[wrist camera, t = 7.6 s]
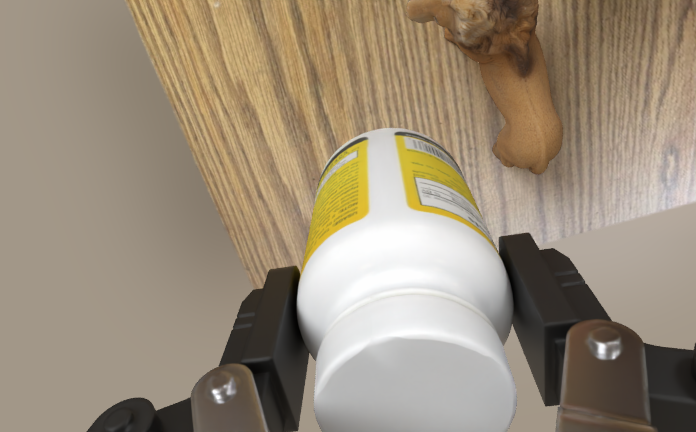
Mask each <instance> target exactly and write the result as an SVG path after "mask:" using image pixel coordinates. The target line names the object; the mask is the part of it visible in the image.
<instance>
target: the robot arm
mask: <svg viewBox="0 0 696 432" xmlns="http://www.w3.org/2000/svg"><path fill="white" fill-rule="evenodd" d="M499 255H500V257H501V259H502V261H503V263H504V266H505V269H506V271H507V274H508V277H509V280H510V284H511V289H512V293H513V301H514V313H513V321H512V324H513V327H514V329H515V332H516V334H517V337H518V339H519V342H520V344H521V347H522V349H523V352H524V354H525V356H526V359H527V362H528V364H529V367H530V369H531V372H532V374H533V377H534V379H535V382H536V384H537V387H538V389H539V392H540V394H541V397H542V399H543V402H544V404H545V406H554V405H560V407H558V411H557V420H556V431H555V432H696V343H695V347H694V350H686V349H677V348H668V347H660V346H654V345H650V344H646V343H643V341H642V339H641V338H640V337H639V335H637V334H636V333H635V332H634V331H633V330H631V329H630V328H628V327H626V326H624V325H622V324H619V323H617V322H613V321H612V320H611V319H610V317H609V316H608V315H607V313H606V311H605V310H604V308H603V307H602V306H601V304H600V303H599V301H598V300H597V298H596V297H595V295H594V294H593V292H592V291H591V289H590V288H589V287H588V285H587V284H585V281H584V279H583V278H582V276H581V275H580V274H579V273H578V270H577V269H576V267H575V266H574V264H573V263H572V262H571V260H570V259H569V258H568V257H567V256H565V255H563V254H562V253H560V252H559V251H557V250H555V249H553V248H551V249H544V250H539V248H538V246H537V245H536V243H535V241H534V240H533V238H532V236H531V235H530V233H522V234H515V235H508V236H501V237H499ZM300 276H301V275H300V272H299V269H298V267H297V266H291V267H284V268H277V269H270V270H269V272H268V275H267V278H266V281H265V284H264V288H262V289H255V290H253V291H252V292H251V293H250V294H249V295H248V296H247V298H246V299H245V300H244V301H243V302H242V304H241V306H240V309H239V312H238V315H237V319H236V320H235V323H234V326H233V330H232V331H231V334H230V337H229V340H228V342H227V345H226V348H225V351H224V353H223V356H222V359H221V361H220V364H219V367H217V368H215V369H213V370H211V371H210V372H208V373H207V374H205V375H204V376H203V377H202V378H201V379H200V380H199V381H198V382H197V383H196V385H195V386H194V388H193V390H192V393H191V397H190V398H188V399H186V400H183V401H181V402H178V403H175V404H173V405H170V406H167V407H165V408H162V409H160V410H157V411H156V410H155V408H154V406H153V404H152V403H151V402H150V401H149V400H147V399H144V398H131V399H127V400H124V401H122V402H119V403H117V404H115V405H114V406H112V407H111V408H109V409H107V410H106V411H105V412H104V413H103V414H101V415H100V416H99V417H98V418H97V420H96V421H95V422H94V423H93V425H92V426H91V427H90V428H89V429H88V431H87V432H293V431H298V427H299V421H300V413H301V407H302V400H303V393H304V386H305V379H306V372H307V365H308V358H309V351H308V349H307V347H306V345H305V343H304V340H303V338H302V335H301V332H300V329H299V326H298V320H297V295H298V286H299V280H300Z"/></svg>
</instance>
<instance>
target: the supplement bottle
mask: <svg viewBox="0 0 696 432" xmlns="http://www.w3.org/2000/svg"><path fill="white" fill-rule="evenodd" d="M513 313H514V301H513V293H512V289H511V284H510V280H509V277H508V274H507V271H506V269H505V266H504V263H503V261H502V259H501V257H500V255H499V253H498V251H497V248H496V246H495V244H494V242H493V240H492V238H491V236H490V233H489V231H488V229H487V227H486V225H485V222H484V220H483V218H482V216H481V214H480V211H479V209H478V207H477V205H476V203H475V200H474V198H473V196H472V194H471V192H470V190H469V187H468V185H467V183H466V181H465V179H464V177H463V175H462V172H461V170H460V168H459V166H458V165H457V163H456V162H455V160H454V159H453V157H452V156H451V155H450V153H449V152H448V151H447V150H446V149H445V148H444V147H443V146H441V145H440V144H439V143H438V142H436V141H435V140H433V139H432V138H430V137H428V136H426V135H424V134H421V133H419V132H416V131H413V130H408V129H402V128H382V129H377V130H373V131H369V132H366V133H363V134H361V135H358V136H356V137H355V138H353V139H351V140H349V141H348V142H346V143H345V144H344V145H343V146H341V147H340V148H339V149H338V150H337V151H336V152H335V153H334V154H333V155H332V157H331V158H330V159H329V161H328V162H327V164H326V166H325V168H324V170H323V172H322V174H321V177H320V180H319V183H318V187H317V192H316V197H315V203H314V209H313V214H312V220H311V225H310V231H309V236H308V241H307V246H306V251H305V256H304V261H303V266H302V271H301V276H300V280H299V286H298V295H297V320H298V326H299V329H300V332H301V335H302V338H303V340H304V343H305V345H306V347H307V349H308V351H309V352H310V354H311V355H312V357H313V359H314V360H315V361H316V376H315V391H314V411H315V415H316V419H317V422H318V424H319V427H320V429H321V431H322V432H507V430H508V429H509V427H510V424H511V422H512V420H513V418H514V415H515V411H516V406H517V395H516V386H515V383H514V379H513V376H512V373H511V370H510V367H509V364H508V361H507V358H506V355H505V351H504V348H503V346H504V344H505V342H506V340H507V338H508V336H509V333H510V330H511V326H512V321H513Z"/></svg>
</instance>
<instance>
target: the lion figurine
mask: <svg viewBox="0 0 696 432" xmlns="http://www.w3.org/2000/svg"><path fill="white" fill-rule="evenodd" d="M538 8H539V4H538V0H410V1H409V2H408V4H407V16H408V18H409V19H410V20H412V21H416V22H418V23H425V22H429V21H436V22H437V24H439V25H440V26H442V27H446V28H445V35H444V36H445V38H446V39H448V40H449V41H452V42H454V43H456V44H457V45H458V47H459V48H460V50H461V51H463V52H464V53H465V54H466V55H467V56H468V57H470V58H471V59H473V60H475V61H476V62H479V66H480V71H481V75H482V78H483V81H484V83H485V86H486V88H487V90H488V92H489V94H490V95H491V97H492V99H493V101H494V103H495V104H496V106H497V108H498V109H499V110H500V112H501V113H502V115H503V116H504V118H505V121H506V124H505V126H504V128H503V129H502V130H501V131H500V133H499V135H498V138H497V142H496V143H495V144H494V146H493V149H492V151H493V153H494V154H495V156H496V157H497V158H499V159H500V160H501V161H502V164H503V165H504V166H506V167H513V166H514V165H515V166H516V167H519V168H528V169H529V170H530V171H531V172H532V173H534V174H541V173H543V172H544V171H545V170H546V169H547V167H548V164H549V161H550V160H552V159H553V158H554V157H555V156H556V155H557V154H558V152H559V150H560V148H561V145H562V137H563V127H562V123H561V120H560V118H559V117H558V115H557V113H556V111H555V108H554V105H553V102H552V97H551V92H550V86H549V80H548V74H547V68H546V63H545V59H544V55H543V52H542V49H541V46H540V43H539V40H538V38H537V36H536V34H535V29H536V25H537V16H538Z"/></svg>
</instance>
